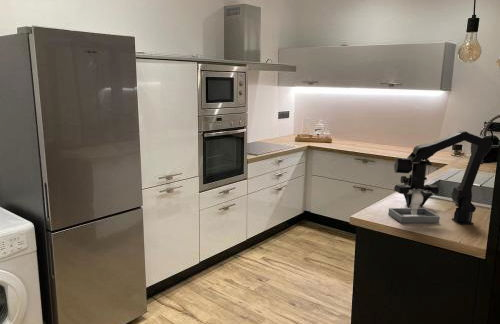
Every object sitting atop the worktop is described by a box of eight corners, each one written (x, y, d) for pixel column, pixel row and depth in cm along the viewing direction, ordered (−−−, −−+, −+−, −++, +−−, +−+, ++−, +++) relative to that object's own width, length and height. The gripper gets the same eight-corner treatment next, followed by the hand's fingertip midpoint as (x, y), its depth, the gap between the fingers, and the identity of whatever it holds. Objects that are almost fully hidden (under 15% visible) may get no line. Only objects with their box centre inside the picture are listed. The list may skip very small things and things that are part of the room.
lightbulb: (403, 214, 178) (406, 191, 176) (409, 211, 182) (412, 188, 180) (417, 218, 174) (420, 194, 171) (423, 215, 178) (426, 191, 176)
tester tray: (424, 214, 185) (425, 208, 185) (439, 223, 174) (439, 216, 173) (388, 214, 183) (388, 208, 182) (400, 223, 171) (401, 217, 171)
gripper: (428, 169, 183) (424, 201, 186) (390, 169, 181) (386, 202, 184) (442, 175, 172) (437, 209, 175) (402, 175, 170) (398, 209, 173)
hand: (414, 207), depth 177 cm, fingers closed on lightbulb, 6 cm apart
